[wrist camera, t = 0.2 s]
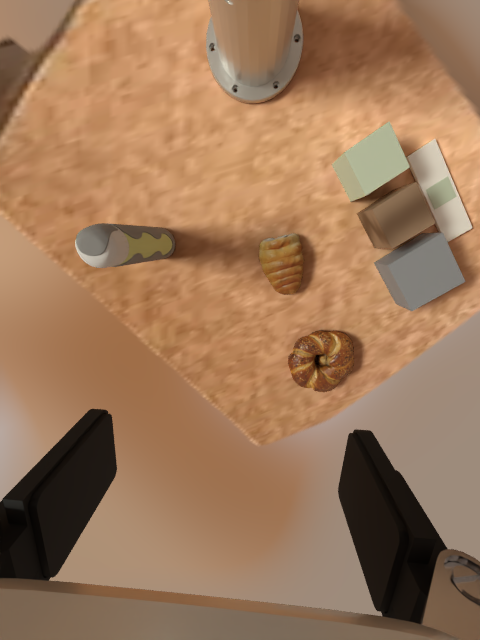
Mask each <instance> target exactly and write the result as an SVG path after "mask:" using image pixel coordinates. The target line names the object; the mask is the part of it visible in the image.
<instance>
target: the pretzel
mask: <svg viewBox="0 0 480 640" xmlns="http://www.w3.org/2000/svg"><path fill="white" fill-rule="evenodd" d="M353 349H354V347H353V344H352V341H351V339H350V338H349V337H348V336H347V335H346V334H344V333H341V332H338V331H329V332H324V331H315V332H313V333H312V334H310V335H309V336H305V337H302V338H300V339H298V341H297V342H296V343H295V346H294V348H293V353H291V354H290V356H289V358H288V364H289V368H290V371H291V374H292V377H293V379H294V381H295V382H296V383H297V384H298V385H299V386H301V387H304V388H313V389H314V390H315V391H318V392H327V391H331V390H332V389H334V388H335V387H336V386H337V385H338V383H339V382H340V380H341V379H342V378H344V377H345V376H347V375H348V374H349V373H350V372H351V370H352V369H353V366H354V358H353V352H354V351H353ZM316 355H319V356H318V364H315V357H316Z"/></svg>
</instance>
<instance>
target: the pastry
mask: <svg viewBox="0 0 480 640" xmlns="http://www.w3.org/2000/svg"><path fill="white" fill-rule="evenodd" d="M259 248H260V251H259V260H260V262H261V265H262V269H263V272H264V273H265V275H266V277H267V278H268V280H269V282H270V283H271V285H272V286H273V287H274V289H275V291H277V292H279V293H281V294H284V295H285V294H294V293H296V291H297V290H298V289H299V287H300V285H301V279H302V275H303V263H304V258H303V256H302V245H301V243H300V241H299V235H298V234H295V233H293V234H289V235H284V236H281V237H278V238H276V239H274V238H268V239H265V240H263V241H262V242H261V243H260V246H259Z"/></svg>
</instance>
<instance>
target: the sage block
mask: <svg viewBox="0 0 480 640" xmlns="http://www.w3.org/2000/svg"><path fill="white" fill-rule="evenodd" d="M332 166H333V168H334V170H335V172H336V174H337V176H338V178H339V180H340V182H341V184H342V186H343V188H344V190H345V192H346V194H347V196H348V197H349V199H350V201H354V200H357V199H359V198H362V197H364V196H366V195H368V194H369V193H371V192H373V191H374V190H376V189H377V188H379V187H380V186H382V185H383V184H385V183H386V182H388V181H390V180H391V179H393V178H394V177H396V176H397V175H399V174H400V173H402V172H403V171H405V170H407V169H408V168H410V166H409V164H408V162H407V159H406V157H405V155H404V153H403V150H402V148H401V146H400V144H399V142H398V139H397V137H396V135H395V133H394V130H393V128H392V126H391V124H390V122H388V123H386V124H385V125H383V126H382V127H380V128H379V129H378V130H376V131H375V132H373V133H372V134H370V135H369V136H367V137H366V138H365V139H363V140H362V141H360V142H359V143H357V144H356V145H354V146H353V147H352V148H350V149H349V150H347V151H346V152H344V153H343V154H342V155H341V156H340V157H339V158H338V159H337V160H336V161H335V162H334V163H333V164H332Z"/></svg>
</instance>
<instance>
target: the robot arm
mask: <svg viewBox="0 0 480 640" xmlns="http://www.w3.org/2000/svg"><path fill="white" fill-rule="evenodd" d="M208 2H209V7H210V12H211V18H210V21H209V25H208V30H207V37H206V49H207V57H208V61H209V65H210V68H211V71H212V74H213V76H214V78H215V80H216V81H217V83H218V85H219V86H220V87H221V88H222V89H223V91H224V92H226V93H227V94H228V95H229V96H230V97H232V98H234V99H236V100H238V101H241V102H245V103H260V102H265V101H267V100H269V99H272V98H274V97H275V96H276V95H278V94H279V93H281V92H282V91H283V90H284V89H285V88H286V86H287V85H288V84H289V82H290V81H291V80H292V78H293V76H294V74H295V72H296V70H297V68H298V65H299V61H300V58H301V53H302V48H303V28H302V22H301V18H300V15H299V12H298V10H297V9H298V3H299V0H208ZM295 41H297V42H298V43H296V42H295ZM212 50H214V51H212ZM275 86H276V87H277V89H275V88H274V87H275ZM235 90H237V92H236V93H235V92H234V91H235ZM116 470H117V465H116V455H115V444H114V434H113V423H112V416H111V415H110V414H108V411H107V410H101V409H91V410H89V411H88V412H87V413H86V414H85V415H84V416H83V417H82V418H81V419H80V420H79V421H78V422H77V423H76V424H75V425H74V426H73V427H72V428H71V429H70V430H69V431H68V432H67V433H66V435H65V436H64V437H63V438H62V439H61V440H60V441H59V442H58V443H57V444H56V445H55V446H54V447H53V448H52V449H51V450H50V451H49V452H48V453H47V454H46V455H45V456H44V457H43V458H42V459H41V460H40V461H39V462H38V463H37V464H36V465H35V466H34V467H33V468H32V469H31V470H30V471H29V472H28V473H27V475H26V476H25V477H24V478H23V479H22V480H21V481H20V482H19V483H18V484H17V485H16V486H15V487H14V488H13V489H12V490H11V491H10V492H9V493H8V494H7V495H6V496H5V497H4V498H3V500H2V501H1V502H0V640H480V562H479V561H478V560H477V559H475V558H474V557H472V556H470V555H468V554H466V553H464V552H461V551H458V550H454V549H447V547H446V546H445V544H444V543H443V541H442V539H441V538H440V536H439V534H438V533H437V531H436V530H435V528H434V526H433V525H432V523H431V522H430V520H429V518H428V517H427V515H426V513H425V512H424V510H423V509H422V507H421V505H420V504H419V502H418V501H417V499H416V497H415V496H414V494H413V492H412V491H411V489H410V488H409V486H408V485H407V483H406V481H405V480H404V478H403V477H402V475H401V474H400V473H399V472H398V471H397V470H395V469H394V468H393V466H392V464H391V463H390V461H389V459H388V458H387V456H386V454H385V453H384V451H383V449H382V448H381V446H380V444H379V443H378V441H377V439H376V438H375V436H374V435H373V433H372V432H371V431H368V430H354V432H353V433H350V434H349V436H348V440H347V446H346V451H345V456H344V461H343V466H342V472H341V477H340V482H339V488H338V493H339V499H340V502H341V505H342V508H343V511H344V514H345V517H346V521H347V524H348V527H349V530H350V533H351V536H352V539H353V542H354V545H355V548H356V552H357V555H358V558H359V561H360V564H361V567H362V570H363V573H364V576H365V579H366V583H367V586H368V589H369V592H370V595H371V598H372V601H373V604H374V607H375V608H376V610H377V611H381V613H382V616H375V615H368V614H359V613H353V612H345V611H338V610H330V609H321V608H312V607H303V606H294V605H285V604H276V603H267V602H258V601H249V600H240V599H230V598H221V597H210V596H202V595H192V594H183V593H173V592H162V591H153V590H143V589H133V588H122V587H111V586H102V585H92V584H81V583H72V582H59V581H49V579H50V578H51V577H54V576H56V575H57V573H58V572H59V570H60V569H61V567H62V565H63V564H64V562H65V560H66V559H67V557H68V555H69V554H70V552H71V550H72V549H73V547H74V545H75V544H76V542H77V540H78V538H79V537H80V535H81V533H82V532H83V530H84V528H85V527H86V525H87V523H88V521H89V520H90V518H91V517H92V515H93V513H94V512H95V510H96V508H97V506H98V505H99V503H100V501H101V500H102V498H103V496H104V495H105V493H106V491H107V490H108V488H109V486H110V484H111V483H112V481H113V479H114V478H115V475H116Z"/></svg>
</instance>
